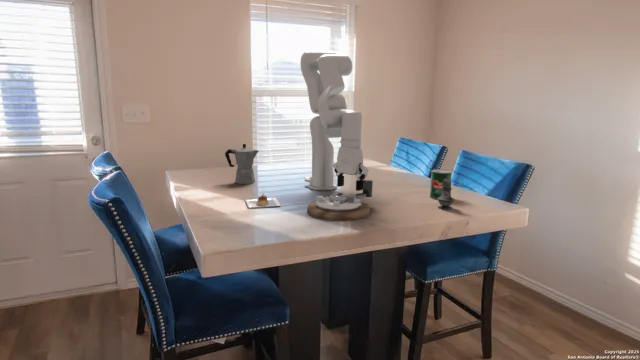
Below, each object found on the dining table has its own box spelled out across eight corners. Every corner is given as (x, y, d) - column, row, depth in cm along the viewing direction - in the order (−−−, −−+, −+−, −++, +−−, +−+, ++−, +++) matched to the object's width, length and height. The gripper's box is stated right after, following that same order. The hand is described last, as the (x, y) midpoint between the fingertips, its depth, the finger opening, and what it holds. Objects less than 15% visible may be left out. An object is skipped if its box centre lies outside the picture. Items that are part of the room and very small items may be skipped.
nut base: (295, 215, 145) (295, 208, 145) (323, 201, 164) (323, 195, 164) (356, 224, 136) (356, 217, 135) (377, 208, 155) (378, 202, 155)
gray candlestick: (434, 206, 159) (436, 174, 157) (450, 205, 159) (452, 174, 157) (440, 210, 153) (442, 177, 151) (456, 210, 154) (458, 177, 151)
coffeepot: (258, 179, 205) (257, 142, 201) (260, 183, 196) (259, 144, 192) (225, 180, 201) (224, 143, 198) (226, 184, 192) (224, 145, 189)
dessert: (248, 210, 152) (248, 197, 152) (245, 202, 164) (244, 190, 163) (281, 208, 156) (281, 195, 155) (275, 200, 167) (275, 188, 166)
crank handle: (335, 214, 139) (335, 192, 137) (306, 204, 151) (306, 184, 150) (386, 203, 153) (387, 183, 151) (356, 195, 165) (356, 176, 164)
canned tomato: (444, 195, 177) (446, 169, 175) (453, 199, 169) (455, 172, 167) (426, 195, 176) (428, 169, 174) (434, 200, 168) (436, 172, 166)
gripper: (327, 142, 164) (327, 185, 167) (361, 146, 152) (360, 193, 155) (341, 141, 169) (340, 183, 172) (375, 145, 157) (373, 190, 160)
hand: (349, 188), depth 164 cm, fingers open, 9 cm apart
